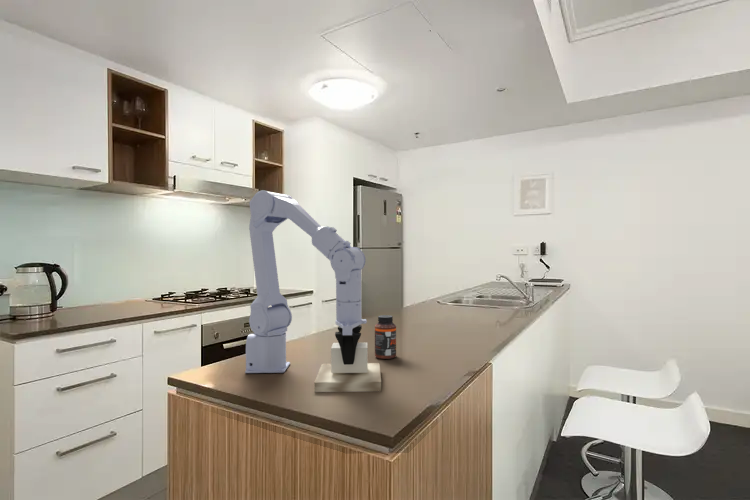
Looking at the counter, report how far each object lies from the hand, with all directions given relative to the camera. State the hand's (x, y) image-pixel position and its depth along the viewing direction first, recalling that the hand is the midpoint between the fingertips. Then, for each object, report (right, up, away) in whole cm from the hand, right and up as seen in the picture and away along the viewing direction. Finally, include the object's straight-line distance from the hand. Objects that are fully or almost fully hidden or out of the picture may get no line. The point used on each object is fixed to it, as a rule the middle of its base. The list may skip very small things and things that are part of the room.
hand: (349, 360), depth 93 cm
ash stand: (0, -5, 0) cm, 5 cm away
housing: (0, -2, 0) cm, 2 cm away
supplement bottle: (+9, -5, +20) cm, 22 cm away
